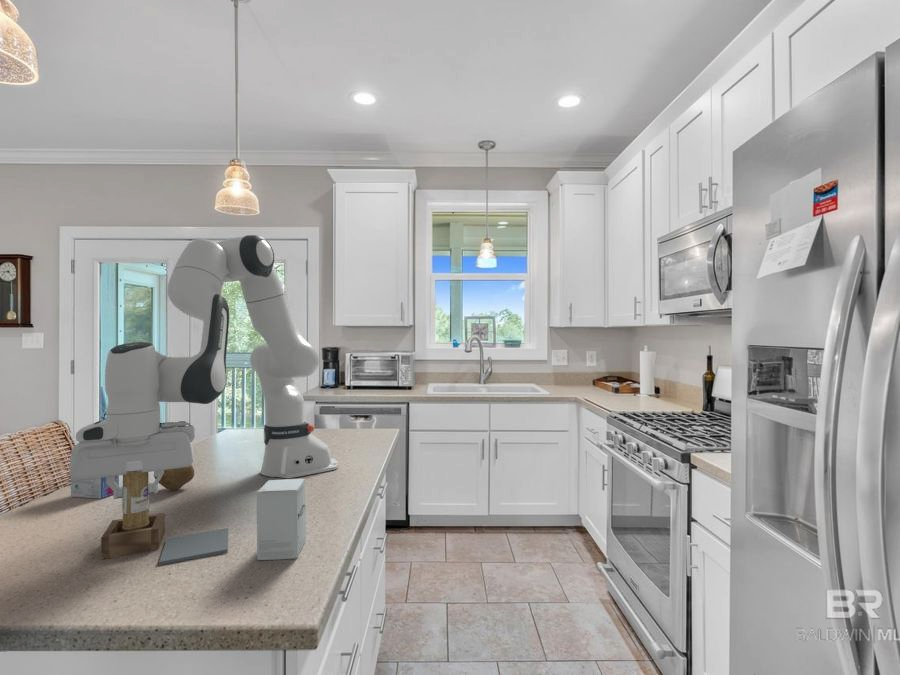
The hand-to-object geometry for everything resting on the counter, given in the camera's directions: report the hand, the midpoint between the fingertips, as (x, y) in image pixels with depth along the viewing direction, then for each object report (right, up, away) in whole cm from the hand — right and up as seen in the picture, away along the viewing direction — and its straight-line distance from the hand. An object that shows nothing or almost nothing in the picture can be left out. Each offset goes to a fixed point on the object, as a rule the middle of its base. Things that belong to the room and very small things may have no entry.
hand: (136, 495), depth 92 cm
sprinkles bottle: (0, -6, 0) cm, 6 cm away
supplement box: (+30, -10, -4) cm, 32 cm away
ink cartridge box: (-31, -10, +30) cm, 44 cm away
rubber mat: (+13, -10, -1) cm, 16 cm away
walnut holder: (0, -10, 0) cm, 10 cm away
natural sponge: (-12, -10, +33) cm, 36 cm away
